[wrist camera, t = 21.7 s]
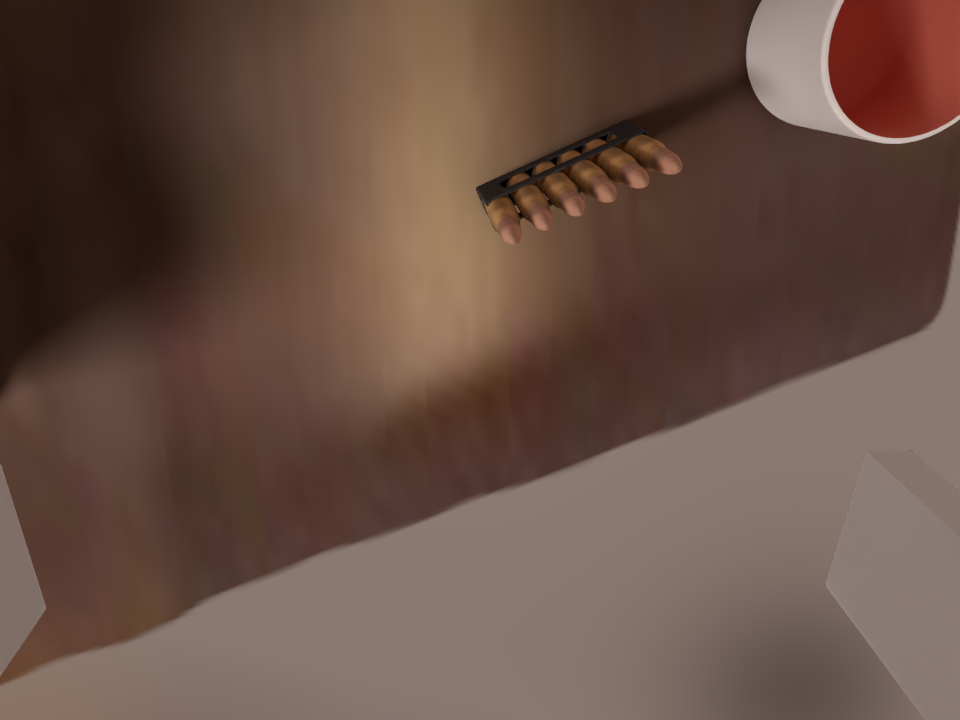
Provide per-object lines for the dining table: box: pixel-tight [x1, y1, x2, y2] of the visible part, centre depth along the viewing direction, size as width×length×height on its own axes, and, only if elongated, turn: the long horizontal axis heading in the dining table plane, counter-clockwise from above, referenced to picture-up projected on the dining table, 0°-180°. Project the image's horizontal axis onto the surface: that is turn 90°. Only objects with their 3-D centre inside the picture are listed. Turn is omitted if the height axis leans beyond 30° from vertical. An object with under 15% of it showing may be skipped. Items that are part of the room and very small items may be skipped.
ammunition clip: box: [476, 120, 683, 245], centre depth 39 cm, size 11×2×12 cm, turn 113°
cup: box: [746, 0, 960, 144], centre depth 38 cm, size 10×10×10 cm
